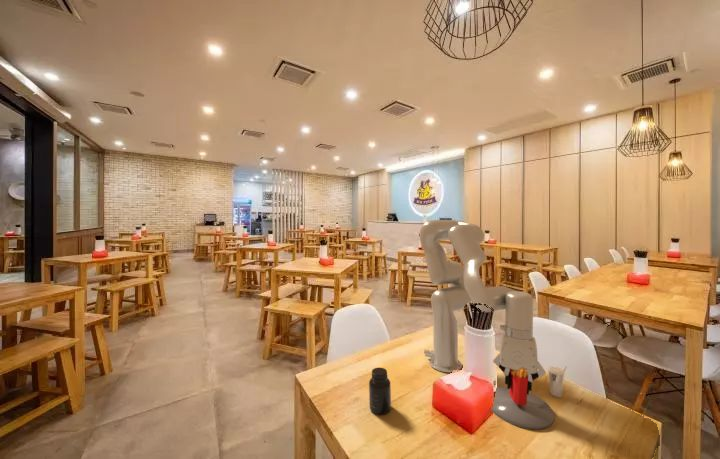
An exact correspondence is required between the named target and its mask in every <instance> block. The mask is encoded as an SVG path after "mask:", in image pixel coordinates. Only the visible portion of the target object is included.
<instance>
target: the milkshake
mask: <svg viewBox="0 0 720 459" xmlns="http://www.w3.org/2000/svg"><path fill="white" fill-rule="evenodd" d="M566 369H567V366H565V368H564V369H562V368H560V367H558V366H550V367H548V369H547V371H548V378H549V390H550V392H549V393H550V394H551V396H554V398H562V397H563V392H564V391H563V390H564V382H565V374H566V373H565V371H566Z"/></svg>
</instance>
